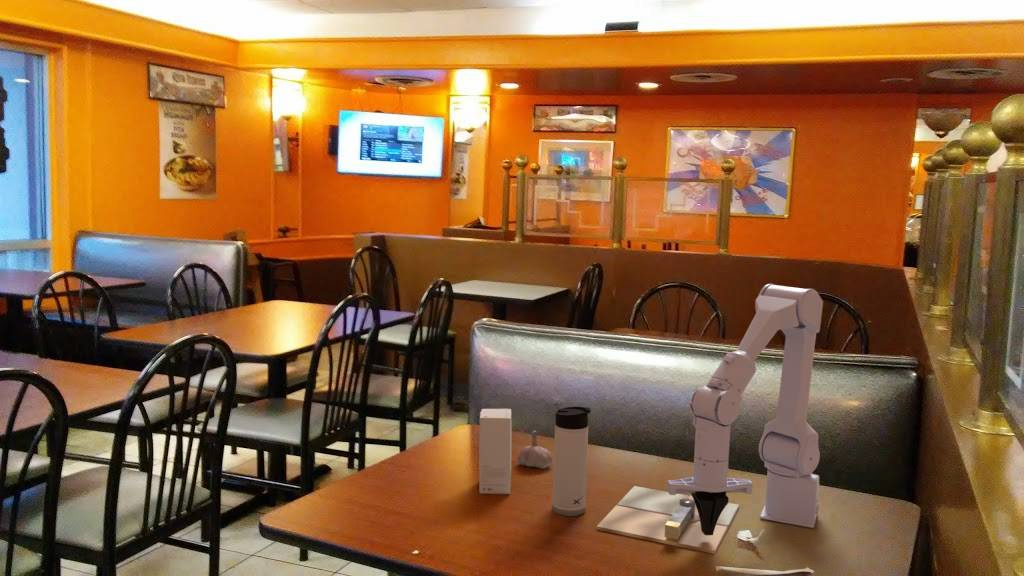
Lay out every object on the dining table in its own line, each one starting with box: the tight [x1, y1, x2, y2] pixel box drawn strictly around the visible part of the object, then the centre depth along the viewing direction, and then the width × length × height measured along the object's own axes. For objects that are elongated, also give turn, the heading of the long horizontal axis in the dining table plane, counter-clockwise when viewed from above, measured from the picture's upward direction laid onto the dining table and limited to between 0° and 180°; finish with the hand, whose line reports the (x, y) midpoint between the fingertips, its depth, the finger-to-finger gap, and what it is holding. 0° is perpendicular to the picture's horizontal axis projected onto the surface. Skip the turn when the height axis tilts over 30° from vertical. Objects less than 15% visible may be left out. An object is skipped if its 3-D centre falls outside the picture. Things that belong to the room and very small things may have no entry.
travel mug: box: [552, 406, 592, 517], centre depth 154 cm, size 6×7×20 cm
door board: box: [596, 485, 740, 555], centre depth 152 cm, size 21×23×3 cm
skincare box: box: [478, 408, 513, 495], centre depth 165 cm, size 8×7×16 cm
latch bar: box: [665, 499, 695, 540], centre depth 146 cm, size 13×3×3 cm, turn 155°
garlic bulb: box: [517, 430, 554, 469], centre depth 179 cm, size 8×7×8 cm
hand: (707, 533), depth 141 cm, fingers closed
